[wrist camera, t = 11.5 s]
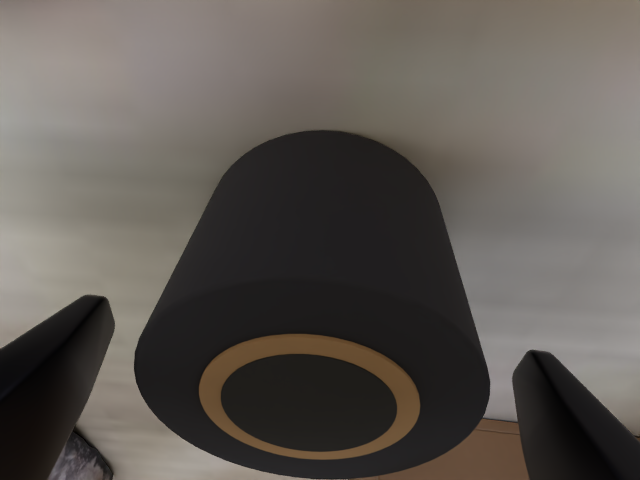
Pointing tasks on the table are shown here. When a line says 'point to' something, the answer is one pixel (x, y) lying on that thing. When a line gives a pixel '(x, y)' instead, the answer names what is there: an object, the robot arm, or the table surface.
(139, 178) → the table surface
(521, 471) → the carton
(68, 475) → the geode
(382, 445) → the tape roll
